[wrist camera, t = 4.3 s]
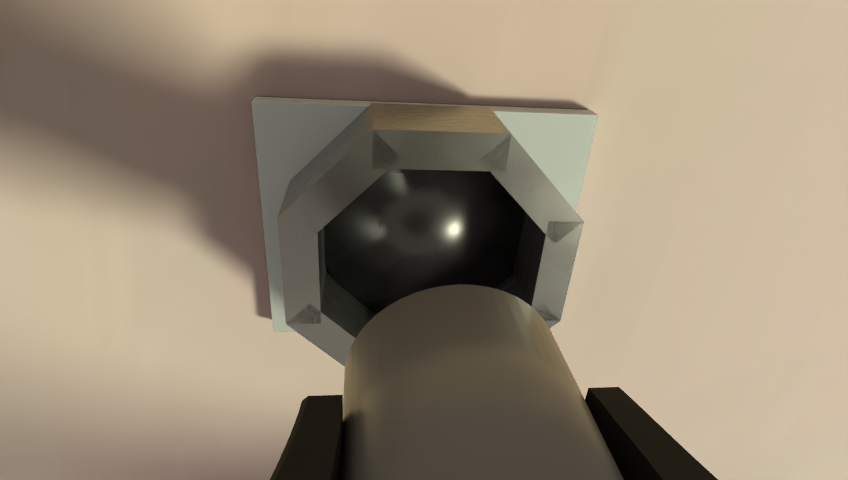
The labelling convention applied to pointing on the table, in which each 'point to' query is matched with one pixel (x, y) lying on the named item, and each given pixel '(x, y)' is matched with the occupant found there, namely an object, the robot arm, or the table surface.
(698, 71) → the table surface
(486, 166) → the octagonal ring mount
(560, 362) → the cap
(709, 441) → the table surface
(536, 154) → the plate
